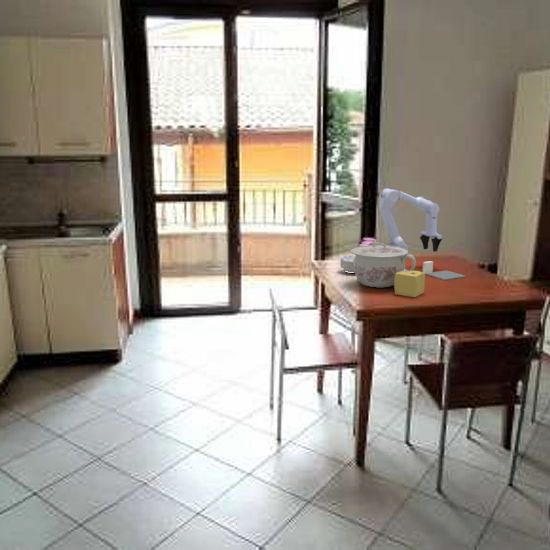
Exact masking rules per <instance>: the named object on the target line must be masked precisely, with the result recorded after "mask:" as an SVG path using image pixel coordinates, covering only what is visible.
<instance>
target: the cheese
mask: <svg viewBox="0 0 550 550" xmlns="http://www.w3.org/2000/svg"><path fill="white" fill-rule="evenodd" d="M425 278H426V274H425V272H423V271H419V270H412V271H401V272H397V273H395V279H394V285H393V288H394V294H395V295H397V294H398V295H399V296H403V297H411V298H417V297H418V296H420V295H422V294H424V293H425V284H426V283H425V282H426V281H425V280H426V279H425ZM398 295H397V296H398Z"/></svg>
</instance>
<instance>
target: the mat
mask: <svg viewBox="0 0 550 550" xmlns="http://www.w3.org/2000/svg"><path fill="white" fill-rule="evenodd" d="M425 276H429V277H432V278H435V279H438V280H442V281H449V280H450V281H451V280H456V279H455V278H457V279H462V277H463V278H466V277H467V276H466V275H463V274H460V273H457V272H454V271H450V270H441V271H439V270H438V271H433V272H432V273H426V274H425Z"/></svg>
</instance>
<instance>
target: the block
mask: <svg viewBox="0 0 550 550" xmlns="http://www.w3.org/2000/svg"><path fill="white" fill-rule="evenodd" d="M422 272H425V275H426V273H432V272H434V262H433V260H432V261H431V260H430V261H423V262H422Z"/></svg>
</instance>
